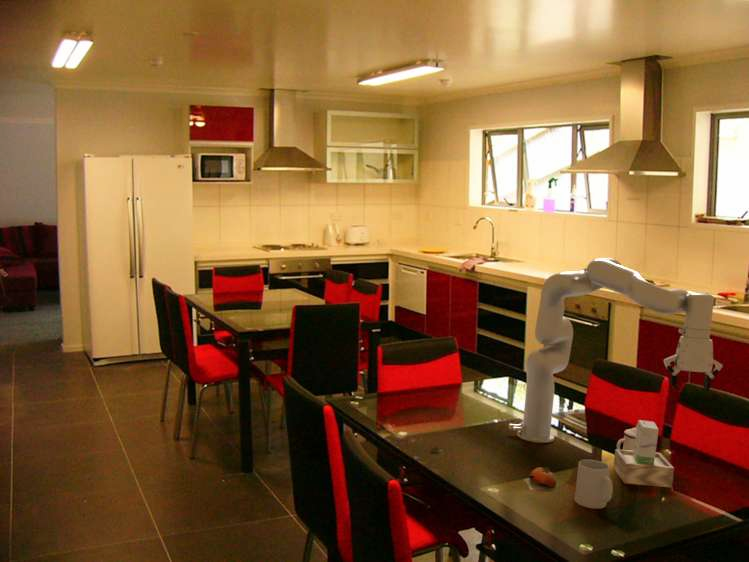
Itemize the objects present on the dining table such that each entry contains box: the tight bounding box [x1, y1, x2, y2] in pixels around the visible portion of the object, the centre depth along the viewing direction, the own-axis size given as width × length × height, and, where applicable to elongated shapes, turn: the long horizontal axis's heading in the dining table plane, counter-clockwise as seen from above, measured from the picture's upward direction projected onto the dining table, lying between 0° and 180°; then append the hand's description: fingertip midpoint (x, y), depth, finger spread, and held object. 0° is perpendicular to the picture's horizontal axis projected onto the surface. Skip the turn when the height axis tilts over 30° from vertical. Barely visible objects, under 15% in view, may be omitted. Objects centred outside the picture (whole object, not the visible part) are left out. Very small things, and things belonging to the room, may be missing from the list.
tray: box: [613, 448, 675, 488], centre depth 247 cm, size 14×14×6 cm
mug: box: [574, 459, 614, 510], centre depth 221 cm, size 12×8×11 cm
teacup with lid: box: [616, 425, 637, 451], centre depth 263 cm, size 12×9×12 cm
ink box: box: [633, 419, 659, 465], centre depth 247 cm, size 9×5×12 cm, turn 171°
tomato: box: [529, 467, 557, 488], centre depth 236 cm, size 8×7×7 cm
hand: (689, 388), depth 246 cm, fingers open, 9 cm apart
